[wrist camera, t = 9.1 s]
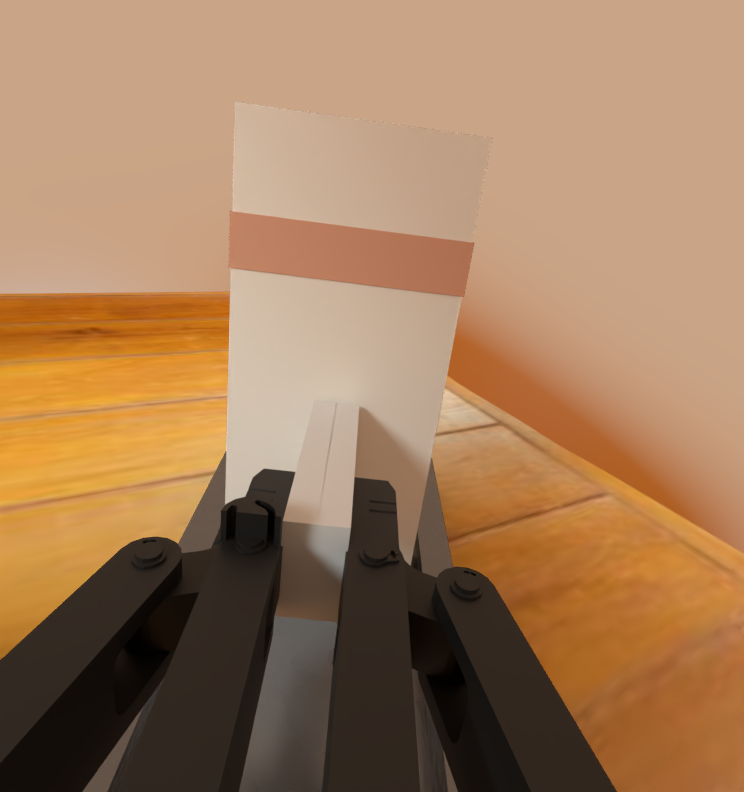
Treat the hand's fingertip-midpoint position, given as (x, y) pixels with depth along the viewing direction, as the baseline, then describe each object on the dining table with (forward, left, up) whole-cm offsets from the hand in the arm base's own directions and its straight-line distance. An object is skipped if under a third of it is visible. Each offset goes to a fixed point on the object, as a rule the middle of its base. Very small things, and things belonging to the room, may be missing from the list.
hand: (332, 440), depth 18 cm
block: (-3, +2, -6) cm, 7 cm away
